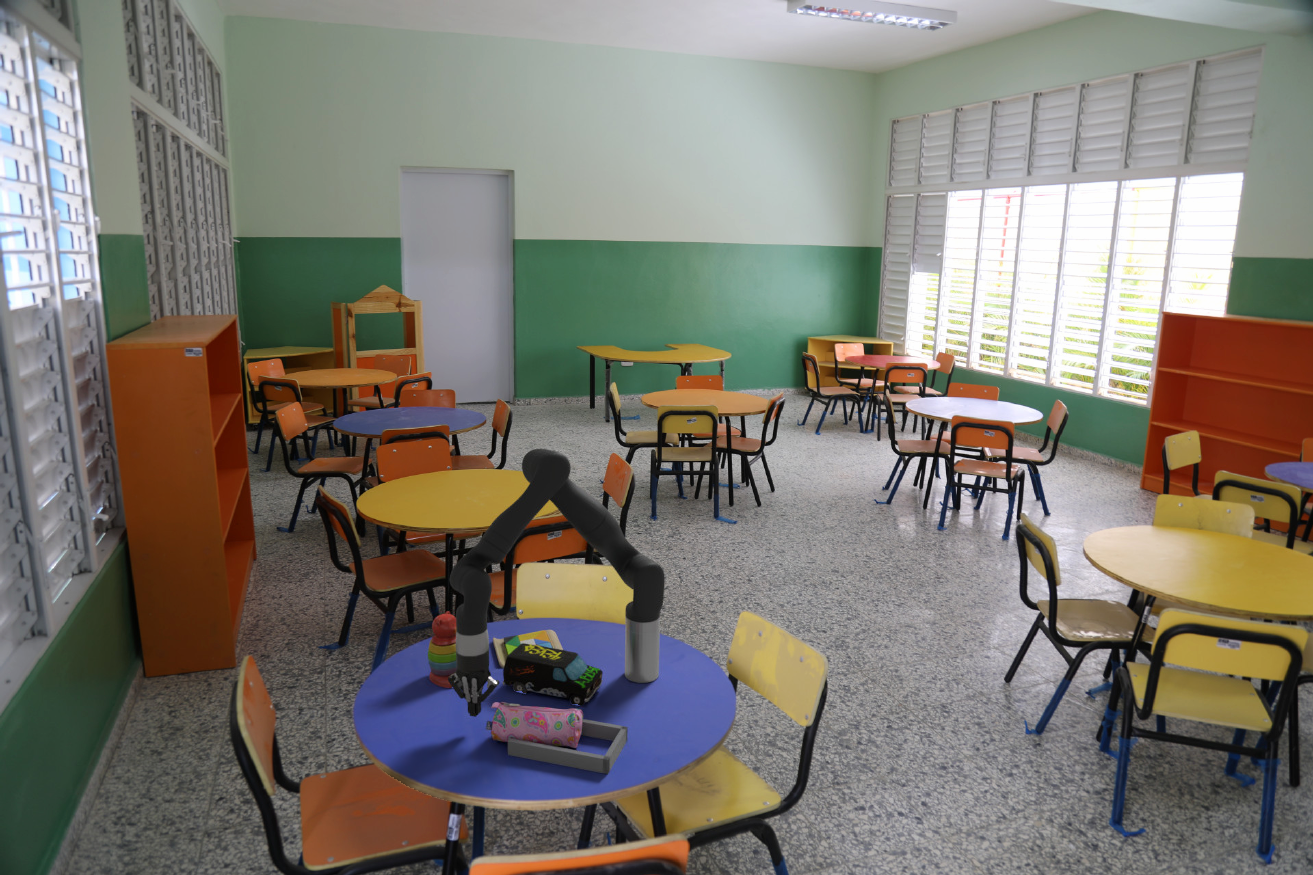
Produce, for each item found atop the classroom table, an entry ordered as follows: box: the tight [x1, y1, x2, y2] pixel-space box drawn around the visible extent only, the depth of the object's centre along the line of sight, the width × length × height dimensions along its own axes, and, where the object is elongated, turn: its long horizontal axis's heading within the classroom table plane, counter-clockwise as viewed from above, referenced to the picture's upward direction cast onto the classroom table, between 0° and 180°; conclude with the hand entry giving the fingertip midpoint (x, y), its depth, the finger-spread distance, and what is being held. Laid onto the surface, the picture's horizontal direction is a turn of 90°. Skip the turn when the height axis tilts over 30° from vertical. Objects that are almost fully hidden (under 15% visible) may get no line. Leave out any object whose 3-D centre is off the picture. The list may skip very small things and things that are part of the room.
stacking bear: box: [427, 610, 457, 689], centre depth 225 cm, size 11×10×18 cm
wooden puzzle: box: [492, 629, 564, 669], centre depth 243 cm, size 18×19×4 cm
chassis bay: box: [507, 718, 628, 775], centre depth 196 cm, size 14×24×4 cm, turn 74°
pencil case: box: [485, 701, 584, 749], centre depth 197 cm, size 21×9×9 cm, turn 81°
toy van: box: [501, 643, 603, 707], centre depth 221 cm, size 11×25×10 cm, turn 70°
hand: (474, 714), depth 201 cm, fingers closed
